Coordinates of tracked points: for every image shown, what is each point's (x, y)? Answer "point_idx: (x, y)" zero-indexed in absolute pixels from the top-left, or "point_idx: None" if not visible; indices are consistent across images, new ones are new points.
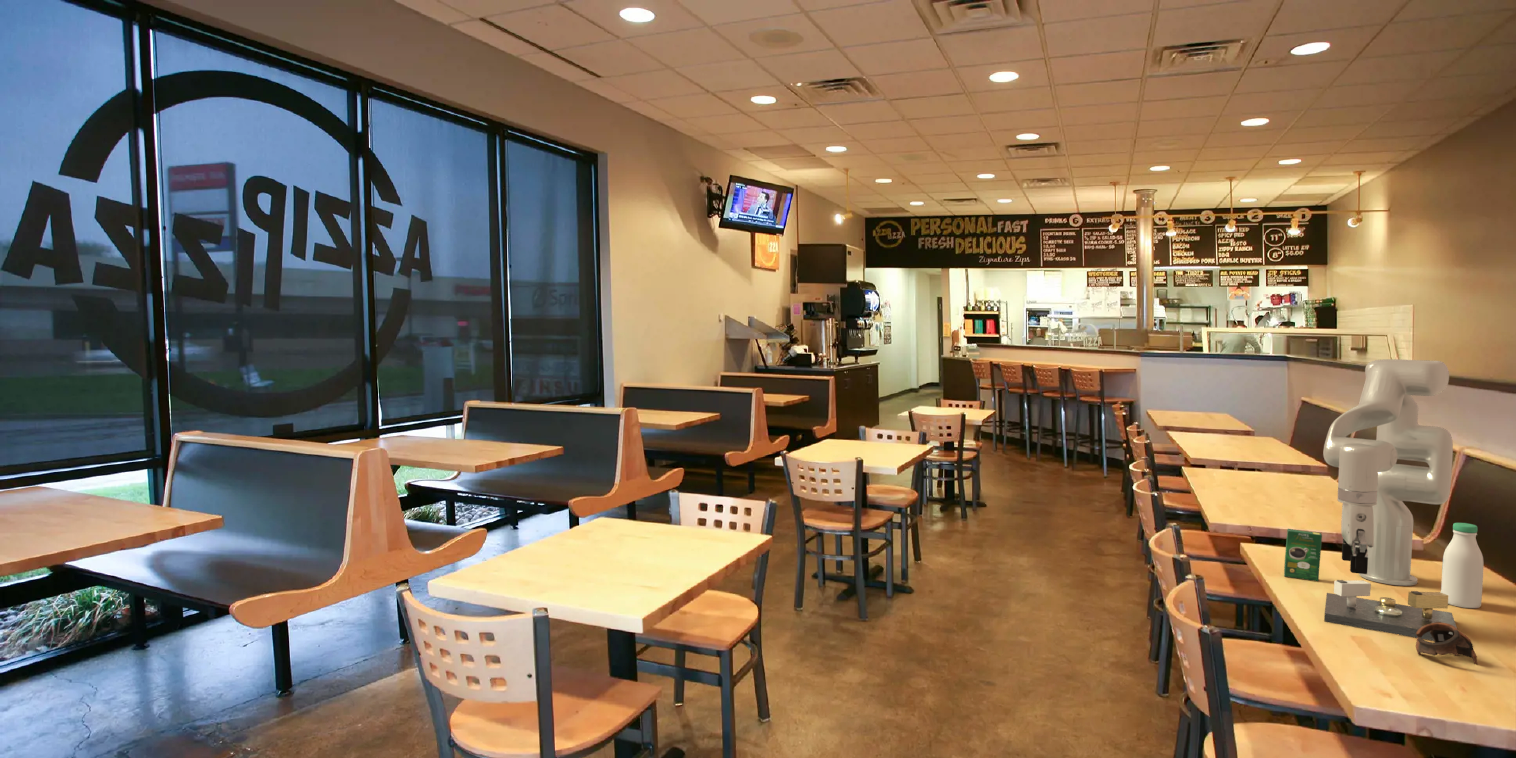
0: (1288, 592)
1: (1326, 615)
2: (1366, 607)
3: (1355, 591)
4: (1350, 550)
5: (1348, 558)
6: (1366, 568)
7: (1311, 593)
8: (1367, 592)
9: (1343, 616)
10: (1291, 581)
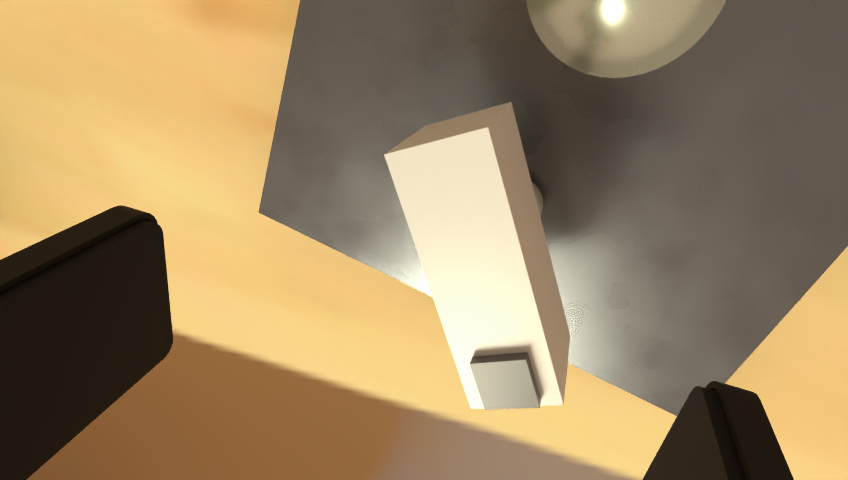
0: (225, 315)
1: None
2: (507, 97)
3: (537, 247)
4: (43, 380)
5: (150, 321)
6: (776, 465)
7: (192, 215)
8: (511, 134)
9: (752, 351)
10: (47, 221)
